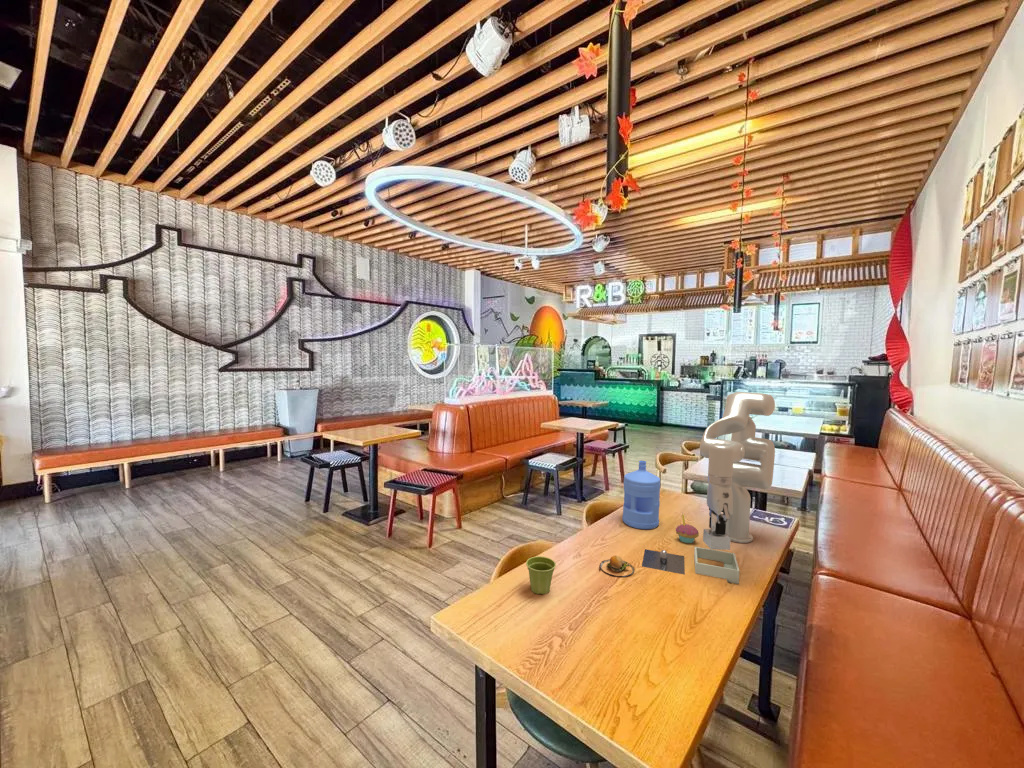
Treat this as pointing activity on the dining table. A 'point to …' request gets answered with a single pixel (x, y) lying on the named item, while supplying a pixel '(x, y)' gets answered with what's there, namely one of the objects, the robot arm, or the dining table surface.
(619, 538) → the dining table surface
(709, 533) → the grey piece
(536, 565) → the plant pot
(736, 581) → the bin
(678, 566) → the stud block
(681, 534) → the cupcake
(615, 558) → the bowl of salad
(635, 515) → the water jug
